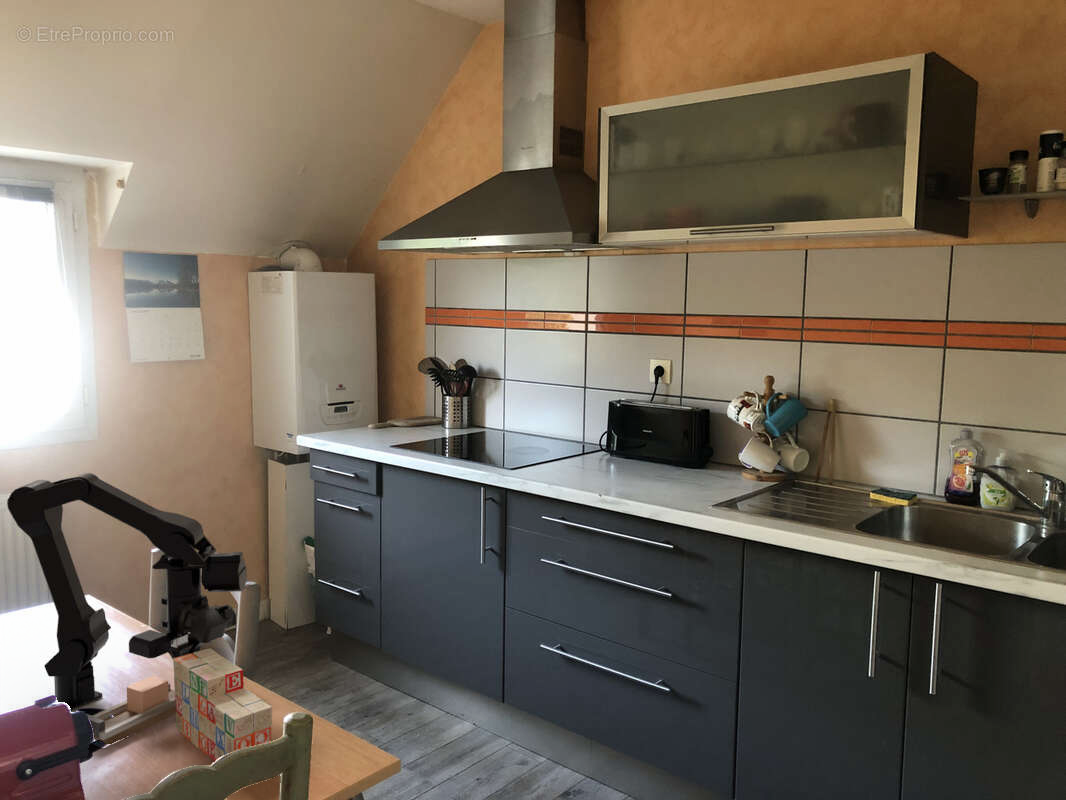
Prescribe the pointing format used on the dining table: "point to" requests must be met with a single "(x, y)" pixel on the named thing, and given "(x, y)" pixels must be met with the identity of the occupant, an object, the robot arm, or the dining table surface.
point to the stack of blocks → (217, 705)
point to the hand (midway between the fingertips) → (186, 676)
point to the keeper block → (147, 694)
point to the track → (129, 719)
